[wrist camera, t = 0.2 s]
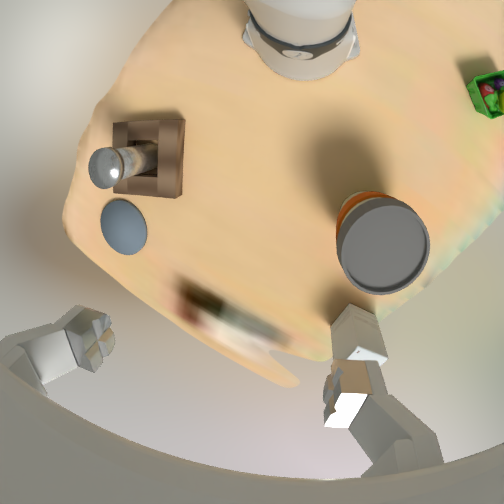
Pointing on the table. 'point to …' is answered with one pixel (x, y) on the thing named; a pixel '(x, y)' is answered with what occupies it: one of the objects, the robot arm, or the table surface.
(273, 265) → the table surface
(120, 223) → the slate rubber mat
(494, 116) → the fruit basket
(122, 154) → the steel plug
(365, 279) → the reusable coffee cup
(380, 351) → the supplement box
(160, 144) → the walnut socket block
